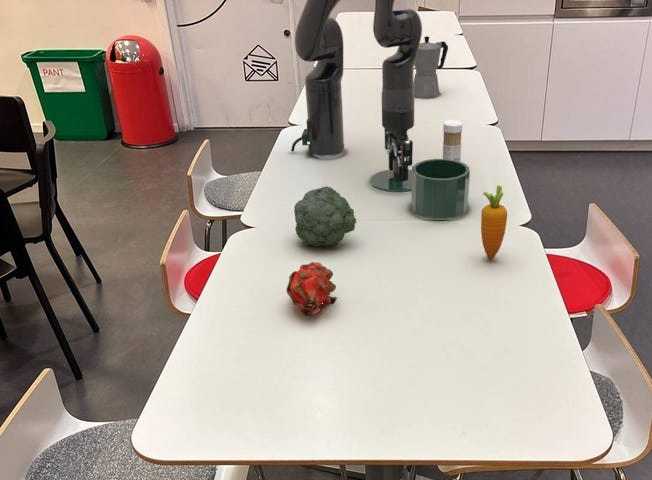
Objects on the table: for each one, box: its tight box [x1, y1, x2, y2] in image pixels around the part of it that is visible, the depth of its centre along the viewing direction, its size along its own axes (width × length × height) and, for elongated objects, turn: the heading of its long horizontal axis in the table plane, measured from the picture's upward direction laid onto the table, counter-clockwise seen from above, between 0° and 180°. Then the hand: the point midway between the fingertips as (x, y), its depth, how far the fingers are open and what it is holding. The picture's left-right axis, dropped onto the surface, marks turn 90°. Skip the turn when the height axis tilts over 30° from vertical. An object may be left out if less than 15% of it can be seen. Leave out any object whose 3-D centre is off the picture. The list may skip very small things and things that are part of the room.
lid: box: [369, 158, 412, 193], centre depth 171 cm, size 14×14×6 cm
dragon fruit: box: [286, 261, 338, 317], centre depth 125 cm, size 8×8×12 cm
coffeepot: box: [413, 36, 449, 99], centre depth 230 cm, size 15×9×18 cm, turn 125°
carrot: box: [480, 185, 508, 261], centre depth 136 cm, size 5×5×15 cm
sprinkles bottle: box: [442, 119, 463, 162], centre depth 172 cm, size 5×5×14 cm
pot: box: [411, 158, 471, 222], centre depth 157 cm, size 13×13×10 cm
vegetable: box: [293, 185, 357, 248], centre depth 146 cm, size 12×13×15 cm
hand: (398, 175), depth 172 cm, fingers open, 7 cm apart
